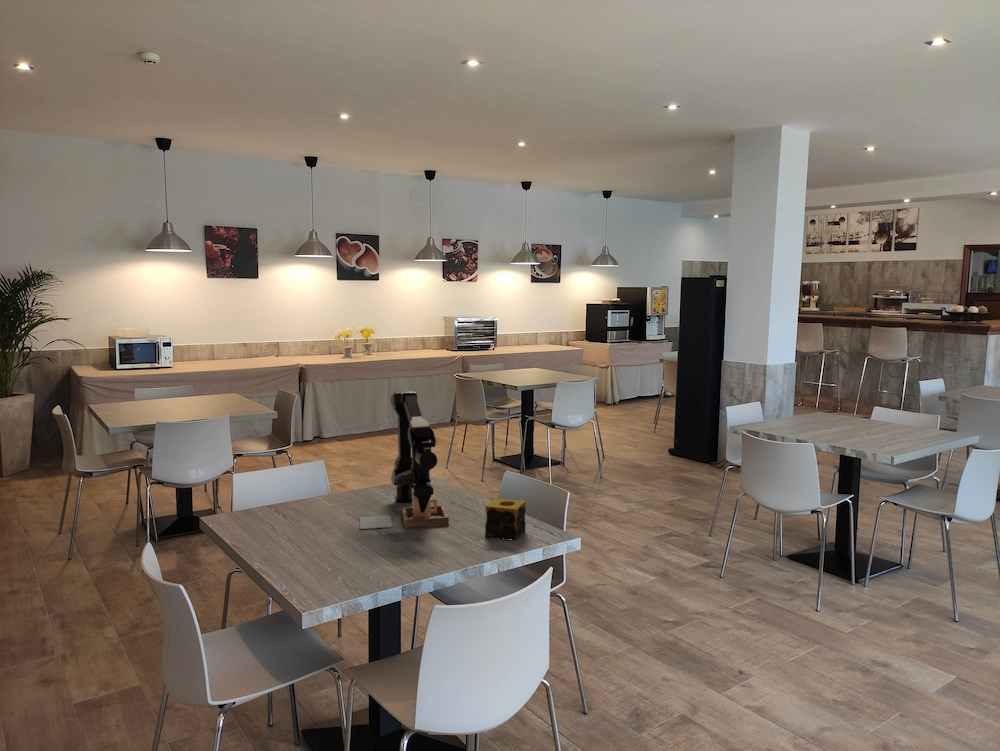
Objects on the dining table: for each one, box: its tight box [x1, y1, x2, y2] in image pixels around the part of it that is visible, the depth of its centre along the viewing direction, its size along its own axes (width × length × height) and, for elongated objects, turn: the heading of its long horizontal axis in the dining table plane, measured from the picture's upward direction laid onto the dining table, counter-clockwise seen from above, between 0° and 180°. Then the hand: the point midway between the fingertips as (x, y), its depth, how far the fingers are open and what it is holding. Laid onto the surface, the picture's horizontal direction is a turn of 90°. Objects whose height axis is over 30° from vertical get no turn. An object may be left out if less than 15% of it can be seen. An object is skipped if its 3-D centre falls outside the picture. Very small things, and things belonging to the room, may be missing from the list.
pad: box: [359, 515, 393, 531], centre depth 234 cm, size 12×10×1 cm
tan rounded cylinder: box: [411, 492, 438, 519], centre depth 237 cm, size 6×8×9 cm
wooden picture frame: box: [401, 504, 450, 529], centre depth 237 cm, size 14×14×2 cm
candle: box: [484, 498, 527, 541], centre depth 222 cm, size 10×10×10 cm
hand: (421, 509), depth 237 cm, fingers closed on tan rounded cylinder, 6 cm apart
